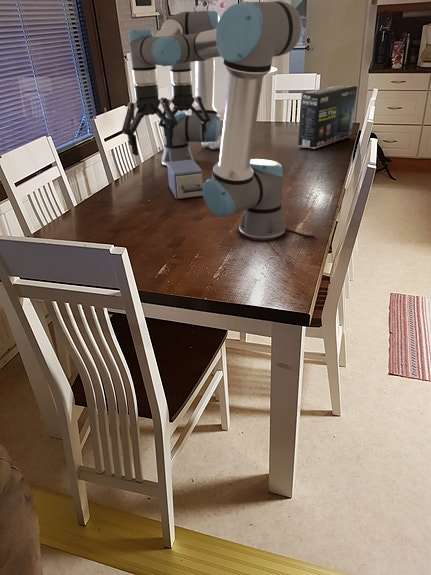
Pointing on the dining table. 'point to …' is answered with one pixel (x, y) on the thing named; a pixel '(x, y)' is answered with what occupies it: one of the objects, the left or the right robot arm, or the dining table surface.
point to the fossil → (213, 143)
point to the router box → (326, 115)
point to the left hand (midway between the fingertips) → (185, 142)
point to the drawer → (189, 185)
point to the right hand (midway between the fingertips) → (153, 151)
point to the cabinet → (181, 172)
